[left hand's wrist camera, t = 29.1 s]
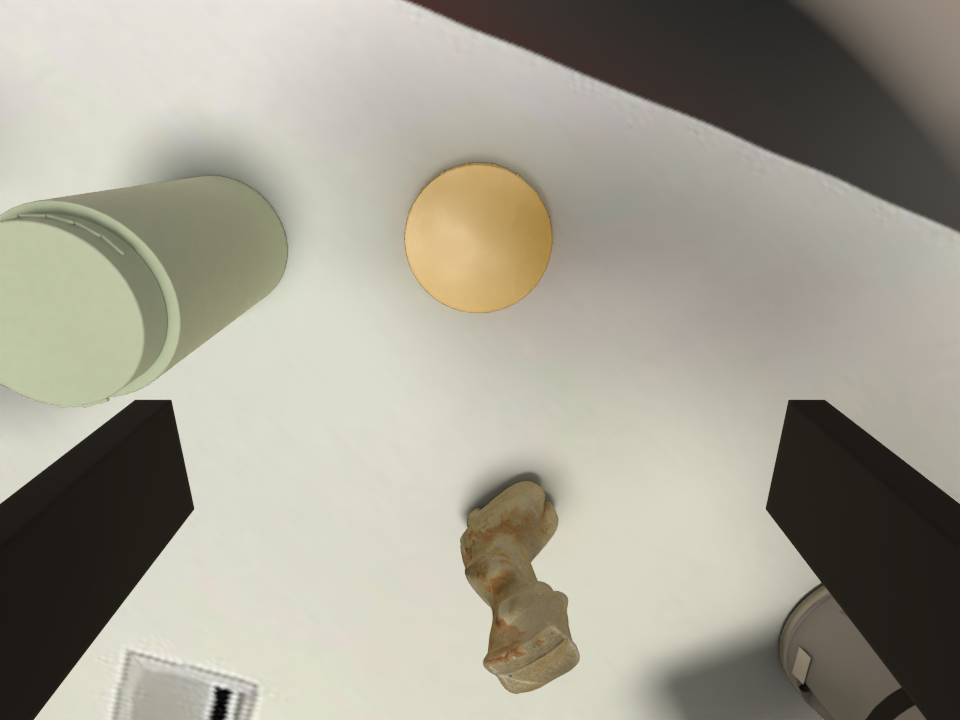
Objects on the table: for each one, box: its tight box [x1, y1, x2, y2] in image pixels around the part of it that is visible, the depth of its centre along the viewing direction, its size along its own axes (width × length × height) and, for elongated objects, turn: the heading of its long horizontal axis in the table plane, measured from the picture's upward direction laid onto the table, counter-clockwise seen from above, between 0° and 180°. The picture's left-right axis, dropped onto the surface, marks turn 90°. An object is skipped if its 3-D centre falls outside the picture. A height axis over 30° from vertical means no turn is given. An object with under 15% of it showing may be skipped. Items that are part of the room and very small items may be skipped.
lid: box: [404, 162, 552, 313], centre depth 37 cm, size 9×9×2 cm
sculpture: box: [460, 481, 579, 694], centre depth 39 cm, size 6×7×15 cm
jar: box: [0, 175, 288, 408], centre depth 31 cm, size 9×9×17 cm
